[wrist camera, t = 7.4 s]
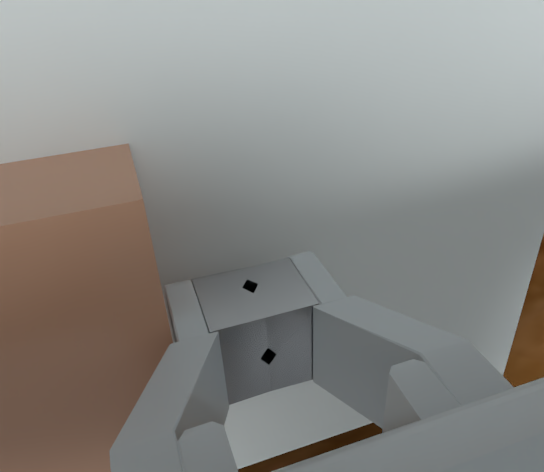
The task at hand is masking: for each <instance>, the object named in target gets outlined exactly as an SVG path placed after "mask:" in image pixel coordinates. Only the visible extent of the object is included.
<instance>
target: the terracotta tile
mask: <svg viewBox="0 0 544 472" xmlns="http://www.w3.org/2000/svg"><path fill="white" fill-rule="evenodd" d="M172 343H173V340H172V336H171V331H170V326H169V321H168V316H167V312H166V307H165V302H164V297H163V292H162V288H161V283H160V278H159V273H158V268H157V263H156V259H155V254H154V249H153V244H152V239H151V235H150V230H149V225H148V220H147V215H146V211H145V206H144V201H143V197H142V193H141V189H140V185H139V182H138V178H137V174H136V170H135V166H134V162H133V159H132V155H131V151H130V147H129V143H128V144H122V145H116V146H110V147H103V148H97V149H91V150H85V151H78V152H72V153H66V154H60V155H53V156H47V157H41V158H35V159H28V160H22V161H16V162H10V163H4V164H0V472H111V468H110V452H109V450H110V449H111V447H112V445H113V443H114V442H115V440H116V438H117V436H118V435H119V433H120V431H121V429H122V427H123V426H124V424H125V422H126V420H127V419H128V417H129V415H130V413H131V412H132V410H133V408H134V406H135V405H136V403H137V401H138V399H139V397H140V396H141V394H142V392H143V390H144V389H145V387H146V385H147V383H148V382H149V380H150V378H151V376H152V375H153V373H154V371H155V369H156V367H157V366H158V364H159V362H160V360H161V359H162V357H163V355H164V353H165V352H166V350H167V348H168V346H169V345H170V344H172Z"/></svg>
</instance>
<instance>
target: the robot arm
mask: <svg viewBox="0 0 544 472" xmlns="http://www.w3.org/2000/svg"><path fill="white" fill-rule="evenodd" d="M164 290H165V295H166V300H167V305H168V310H169V315H170V320H171V325H172V330H173V334H174V339H175V343H172V344H170V345H169V346H168V348H167V350H166V352H165V353H164V355H163V357H162V359H161V360H160V362H159V364H158V366H157V367H156V369H155V371H154V373H153V375H152V376H151V378H150V380H149V382H148V383H147V385H146V387H145V389H144V390H143V392H142V394H141V396H140V397H139V399H138V401H137V403H136V405H135V406H134V408H133V410H132V412H131V413H130V415H129V417H128V419H127V420H126V422H125V424H124V426H123V427H122V429H121V431H120V433H119V435H118V436H117V438H116V440H115V442H114V443H113V445H112V447H111V449H110V450H109V452H110V468H111V472H238V469H237V466H236V463H235V460H234V456H233V453H232V450H231V447H230V444H229V441H228V438H227V434H226V431H225V428H224V424H225V421H226V417H227V414H228V411H229V405H231V404H234V403H237V402H240V401H243V400H246V399H249V398H252V397H255V396H258V395H261V394H264V393H267V392H270V391H273V390H277V389H280V388H284V387H288V386H291V385H295V384H299V383H302V382H306V381H310V380H313V382H314V383H316V384H317V385H319V386H320V387H322V388H323V389H325V390H326V391H328V392H329V393H330V394H332V395H333V396H335V397H336V398H338V399H339V400H341V401H342V402H344V403H345V404H347V405H348V406H350V407H351V408H353V409H354V410H355V411H357V412H358V413H360V414H361V415H363V416H364V417H366V418H367V419H369V420H370V421H372V422H373V423H375V424H376V425H377V426H379V427H380V428H382V429H383V430H382V433H381V434H378V435H376V436H373V437H370V438H367V439H364V440H361V441H358V442H355V443H352V444H349V445H347V446H344V447H341V448H338V449H335V450H332V451H329V452H326V453H323V454H321V455H318V456H315V457H312V458H309V459H306V460H303V461H300V462H297V463H294V464H292V465H289V466H286V467H283V468H280V469H277V470H274V471H271V472H544V377H543V378H540V379H537V380H535V381H532V382H529V383H526V384H523V385H520V386H517V387H513V386H512V385H511V384H510V383H509V382H508V381H507V380H506V379H505V378H504V377H503V376H502V375H501V374H500V372H499V371H498V370H497V369H496V368H495V367H494V366H493V365H492V364H491V363H490V362H489V361H488V360H487V359H486V358H485V357H484V356H483V355H482V354H481V353H480V352H479V351H478V350H477V348H476V347H475V346H474V345H473V344H472V343H471V342H470V341H469V340H466V339H464V338H461V337H459V336H456V335H454V334H451V333H449V332H446V331H443V330H441V329H438V328H436V327H433V326H431V325H428V324H426V323H423V322H421V321H418V320H416V319H413V318H411V317H408V316H405V315H403V314H400V313H398V312H395V311H393V310H390V309H388V308H385V307H383V306H380V305H378V304H375V303H373V302H370V301H367V300H365V299H362V298H360V297H357V296H355V295H353V296H349V297H347V296H346V295H345V293H344V292H343V291H342V289H341V288H340V287H339V285H338V284H337V283H336V281H335V280H334V279H333V277H332V276H331V275H330V273H329V272H328V271H327V269H326V268H325V267H324V266H323V264H322V263H321V262H320V260H319V259H318V258H317V256H316V255H315V254H314V253H313V252H311V251H307V252H303V253H300V254H296V255H292V256H288V257H287V258H284V259H280V260H276V261H271V262H267V263H263V264H259V265H255V266H251V267H247V268H242V269H236V270H231V271H226V272H222V273H217V274H212V275H208V276H203V277H198V278H194V279H191V281H190V280H185V281H181V282H176V283H172V284H168V285H164Z"/></svg>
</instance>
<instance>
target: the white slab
mask: <svg viewBox="0 0 544 472" xmlns="http://www.w3.org/2000/svg"><path fill="white" fill-rule="evenodd" d="M128 143H129V147H130V151H131V155H132V159H133V162H134V166H135V170H136V174H137V178H138V182H139V185H140V189H141V193H142V197H143V201H144V206H145V211H146V215H147V220H148V225H149V230H150V235H151V239H152V244H153V249H154V254H155V259H156V263H157V268H158V273H159V278H160V283H161V288H162V292H163V297H164V302H165V307H166V312H167V316H168V321H169V326H170V331H171V336H172V340H173V343H175V339H174V334H173V330H172V325H171V320H170V315H169V310H168V305H167V300H166V295H165V290H164V285H168V284H172V283H176V282H181V281H185V280H190V281H191V279H194V278H198V277H203V276H208V275H212V274H217V273H222V272H226V271H231V270H236V269H242V268H247V267H251V266H255V265H259V264H263V263H267V262H271V261H276V260H280V259H284V258H287V257H288V256H292V255H296V254H300V253H303V252H307V251H311V252H313V253H314V254H315V255H316V256H317V258H318V259H319V260H320V262H321V263H322V264H323V266H324V267H325V268H326V269H327V271H328V272H329V273H330V275H331V276H332V277H333V279H334V280H335V281H336V283H337V284H338V285H339V287H340V288H341V289H342V291H343V292H344V293H345V295H346V296H347V297H349V296H353V295H355V296H357V297H360V298H362V299H365V300H367V301H370V302H373V303H375V304H378V305H380V306H383V307H385V308H388V309H390V310H393V311H395V312H398V313H400V314H403V315H405V316H408V317H411V318H413V319H416V320H418V321H421V322H423V323H426V324H428V325H431V326H433V327H436V328H438V329H441V330H443V331H446V332H449V333H451V334H454V335H456V336H459V337H461V338H464V339H466V340H469V341H470V342H471V343H472V344H473V345H474V346H475V347H476V348H477V350H478V351H479V352H480V353H481V354H482V355H483V356H484V357H485V358H486V359H487V360H488V361H489V362H490V363H491V364H492V365H493V366H494V367H495V368H496V369H497V370H498V371H499V372H500V374H501V375H502V376H503V374H504V370H505V367H506V363H507V360H508V356H509V353H510V349H511V346H512V342H513V339H514V335H515V332H516V328H517V325H518V321H519V318H520V314H521V311H522V307H523V304H524V300H525V297H526V293H527V290H528V286H529V283H530V279H531V276H532V272H533V269H534V265H535V262H536V258H537V255H538V251H539V248H540V244H541V241H542V237H543V234H544V0H0V164H4V163H10V162H16V161H22V160H28V159H35V158H41V157H47V156H53V155H60V154H66V153H72V152H78V151H85V150H91V149H97V148H103V147H110V146H116V145H122V144H128ZM370 423H373V422H372V421H370V420H369V419H367V418H366V417H364V416H363V415H361V414H360V413H358V412H357V411H355V410H354V409H353V408H351V407H350V406H348V405H347V404H345V403H344V402H342V401H341V400H339V399H338V398H336V397H335V396H333V395H332V394H330V393H329V392H328V391H326V390H325V389H323V388H322V387H320V386H319V385H317V384H316V383H314V382H313V380H310V381H306V382H302V383H299V384H295V385H291V386H288V387H284V388H280V389H277V390H273V391H270V392H267V393H264V394H261V395H258V396H255V397H252V398H249V399H246V400H243V401H240V402H237V403H234V404H231V405H229V411H228V414H227V417H226V421H225V424H224V428H225V431H226V434H227V438H228V441H229V444H230V447H231V450H232V453H233V456H234V460H235V463H236V466H237V469H240V468H243V467H246V466H249V465H252V464H255V463H258V462H260V461H263V460H266V459H269V458H272V457H275V456H278V455H281V454H284V453H286V452H289V451H292V450H295V449H298V448H301V447H304V446H307V445H310V444H312V443H315V442H318V441H321V440H324V439H327V438H330V437H333V436H336V435H339V434H341V433H344V432H347V431H350V430H353V429H356V428H359V427H362V426H365V425H367V424H370Z"/></svg>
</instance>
